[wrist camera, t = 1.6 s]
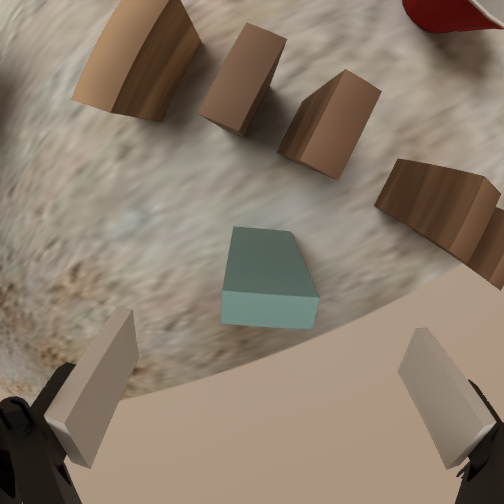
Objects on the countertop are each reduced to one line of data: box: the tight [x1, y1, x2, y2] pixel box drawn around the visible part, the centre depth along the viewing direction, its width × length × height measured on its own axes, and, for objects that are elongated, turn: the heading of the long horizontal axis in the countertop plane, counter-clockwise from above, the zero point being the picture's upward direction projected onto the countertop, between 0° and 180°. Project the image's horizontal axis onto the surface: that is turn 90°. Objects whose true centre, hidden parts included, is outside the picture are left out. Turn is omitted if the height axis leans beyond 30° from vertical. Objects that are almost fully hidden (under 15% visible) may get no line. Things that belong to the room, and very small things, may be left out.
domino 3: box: [277, 69, 382, 180], centre depth 18 cm, size 2×5×12 cm, turn 155°
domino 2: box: [220, 227, 320, 329], centre depth 21 cm, size 2×5×12 cm, turn 85°
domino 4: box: [374, 159, 501, 264], centre depth 20 cm, size 2×5×12 cm, turn 154°
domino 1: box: [198, 23, 287, 137], centre depth 17 cm, size 2×5×12 cm, turn 155°
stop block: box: [71, 0, 201, 122], centre depth 17 cm, size 3×8×10 cm, turn 155°
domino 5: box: [413, 207, 504, 290], centre depth 20 cm, size 2×5×12 cm, turn 155°
